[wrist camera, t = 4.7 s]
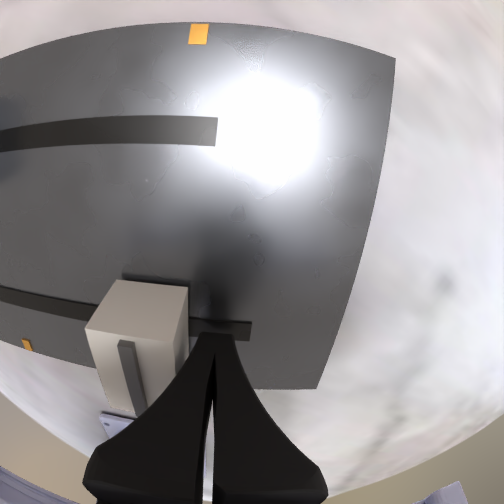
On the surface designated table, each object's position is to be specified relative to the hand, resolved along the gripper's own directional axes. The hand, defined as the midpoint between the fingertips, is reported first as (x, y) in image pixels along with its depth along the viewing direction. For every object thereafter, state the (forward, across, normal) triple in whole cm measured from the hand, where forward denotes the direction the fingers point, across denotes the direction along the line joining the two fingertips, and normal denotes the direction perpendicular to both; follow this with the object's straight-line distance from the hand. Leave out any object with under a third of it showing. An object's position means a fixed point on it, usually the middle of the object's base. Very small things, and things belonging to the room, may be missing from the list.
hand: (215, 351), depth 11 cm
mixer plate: (+3, +7, -4) cm, 8 cm away
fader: (+1, +3, 0) cm, 3 cm away
